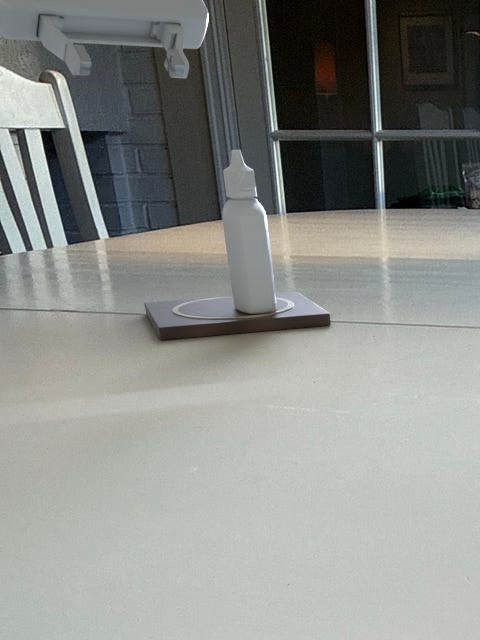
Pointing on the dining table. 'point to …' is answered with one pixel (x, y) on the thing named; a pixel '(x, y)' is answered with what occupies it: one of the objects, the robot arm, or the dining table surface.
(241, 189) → the eye dropper bottle
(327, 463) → the dining table surface
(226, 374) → the dining table surface
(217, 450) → the dining table surface
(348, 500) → the dining table surface
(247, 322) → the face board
